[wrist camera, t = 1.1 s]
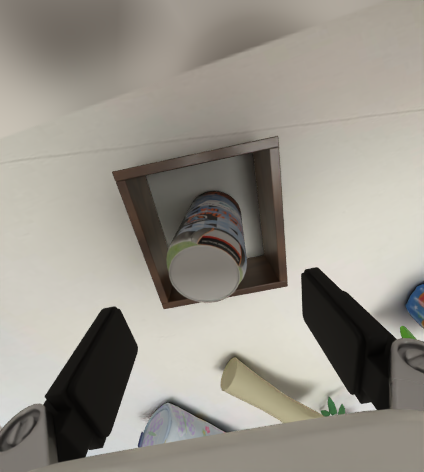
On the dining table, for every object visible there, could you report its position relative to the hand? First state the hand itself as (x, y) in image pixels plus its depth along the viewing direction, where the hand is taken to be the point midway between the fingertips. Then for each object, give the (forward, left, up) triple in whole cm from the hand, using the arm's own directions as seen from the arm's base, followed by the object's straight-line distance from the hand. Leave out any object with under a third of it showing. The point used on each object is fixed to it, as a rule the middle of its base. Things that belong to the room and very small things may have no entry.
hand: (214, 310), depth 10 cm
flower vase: (+37, +10, -15) cm, 41 cm away
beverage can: (0, 0, -15) cm, 15 cm away
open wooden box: (0, 0, -15) cm, 15 cm away
